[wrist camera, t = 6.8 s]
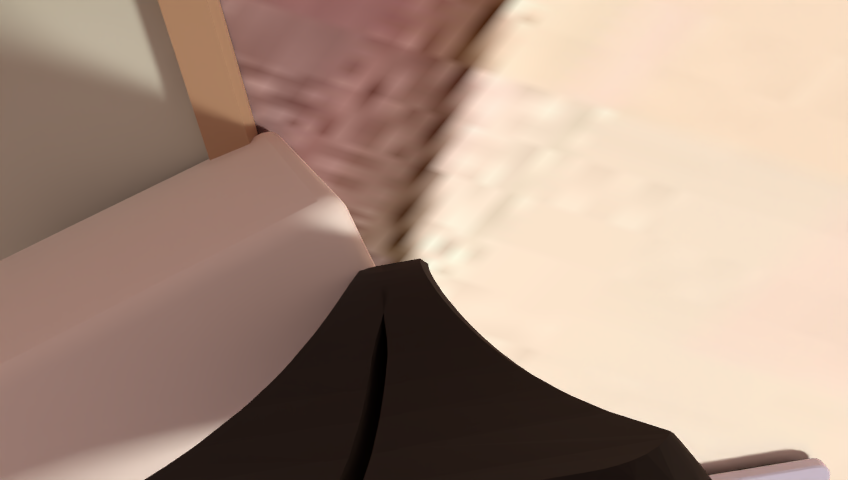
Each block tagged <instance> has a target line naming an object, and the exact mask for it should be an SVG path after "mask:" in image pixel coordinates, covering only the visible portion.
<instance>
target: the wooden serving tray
mask: <svg viewBox="0 0 848 480" xmlns="http://www.w3.org/2000/svg"><path fill="white" fill-rule="evenodd" d="M257 135H258V132H257V129H256V126H255V122H254V119H253V115H252V112H251V108H250V105H249V101H248V98H247V94H246V91H245V87H244V84H243V81H242V77H241V74H240V70H239V67H238V63H237V60H236V56H235V53H234V49H233V46H232V42H231V39H230V36H229V32H228V29H227V25H226V22H225V18H224V15H223V11H222V8H221V4H220V1H219V0H0V260H2V259H4V258H6V257H9V256H11V255H13V254H15V253H17V252H19V251H21V250H23V249H25V248H27V247H29V246H31V245H33V244H35V243H37V242H39V241H41V240H43V239H45V238H47V237H50V236H52V235H54V234H56V233H58V232H60V231H62V230H64V229H66V228H68V227H70V226H72V225H74V224H76V223H78V222H80V221H82V220H84V219H86V218H88V217H91V216H93V215H95V214H97V213H99V212H101V211H103V210H105V209H107V208H109V207H111V206H113V205H115V204H117V203H119V202H121V201H123V200H125V199H127V198H130V197H132V196H134V195H136V194H138V193H140V192H142V191H144V190H146V189H148V188H150V187H152V186H154V185H156V184H158V183H160V182H162V181H164V180H166V179H168V178H171V177H173V176H175V175H177V174H179V173H181V172H183V171H185V170H187V169H189V168H191V167H193V166H195V165H197V164H199V163H201V162H203V161H205V160H207V159H210V160H212V159H214V158H217V157H219V156H222V155H224V154H226V153H229V152H231V151H234V150H236V149H239V148H241V147H243V146H246V145H248V144H250V143H251V141H252V139H253V138H254V137H255V136H257Z"/></svg>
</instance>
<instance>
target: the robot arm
mask: <svg viewBox="0 0 848 480" xmlns="http://www.w3.org/2000/svg"><path fill="white" fill-rule="evenodd" d="M145 480H830V471H829V469H828V468H827V467H826V465H825V464H824V463H823V462H822V461H821V460H819V459H816V458H812V459H804V460H797V461H791V462H785V463H779V464H773V465H767V466H761V467H755V468H749V469H743V470H737V471H731V472H725V473H719V474H713V475H708V474H707V473H706V471H705V470H704V469H703V468H702V466H701V465H700V464H699V463H698V461H697V460H696V459H695V458H694V457H693V455H692V454H691V453H690V452H689V451H688V449H687V448H686V447H685V446H684V445H683V443H682V442H681V441H680V440H679V439H678V438H677V436H676V435H675V434H674V433H672V432H671V431H668V430H665V429H662V428H659V427H656V426H652V425H649V424H646V423H643V422H640V421H637V420H633V419H630V418H627V417H624V416H621V415H618V414H615V413H611V412H609V411H606V410H603V409H601V408H599V407H596V406H594V405H592V404H589V403H587V402H585V401H582V400H580V399H578V398H575V397H573V396H571V395H569V394H567V393H565V392H563V391H561V390H559V389H557V388H555V387H553V386H551V385H550V384H548V383H546V382H544V381H543V380H541V379H539V378H537V377H535V376H534V375H532V374H530V373H529V372H527V371H526V370H524V369H523V368H521V367H520V366H518V365H517V364H516V363H514V362H513V361H512V360H510V359H509V358H508V357H506V356H505V355H504V354H502V353H501V352H500V351H499V350H497V349H496V348H495V347H494V346H493V345H491V344H490V343H489V342H488V341H487V340H486V339H485V338H484V337H482V336H481V335H480V334H479V333H478V332H477V331H476V330H475V329H474V328H473V327H472V326H471V325H470V324H469V323H468V322H467V321H466V320H465V319H464V318H463V316H462V315H461V314H460V313H459V312H458V311H457V309H456V308H455V307H454V306H453V305H452V304H451V302H450V301H449V300H448V299H447V298H446V296H445V295H444V294H443V292H442V291H441V289H440V288H439V286H438V285H437V283H436V282H435V280H434V278H433V277H432V275H431V273H430V270H429V267H428V264H427V263H426V262H424V261H423V260H421V259H415V260H409V261H404V262H398V263H393V264H387V265H381V266H376V267H370V268H367V269H364V270H361V271H359V272H358V273H357V275H356V276H355V277H354V279H353V280H352V281H351V283H350V284H349V286H348V287H347V289H346V290H345V292H344V293H343V294H342V296H341V297H340V299H339V300H338V302H337V303H336V305H335V306H334V308H333V309H332V310H331V312H330V313H329V315H328V316H327V317H326V319H325V320H324V321H323V323H322V324H321V325H320V327H319V328H318V329H317V331H316V332H315V333H314V335H313V336H312V337H311V338H310V339H309V341H308V342H307V343H306V344H305V345H304V347H303V348H302V349H301V350H300V351H299V352H298V354H297V355H296V356H295V357H294V358H293V360H292V361H291V362H290V363H289V364H288V365H287V366H286V367H285V368H284V370H283V371H282V372H281V373H280V374H279V375H278V376H277V377H276V378H275V379H274V380H273V381H272V382H271V383H270V384H269V385H268V386H267V387H266V388H264V389H263V390H262V391H261V392H260V393H259V394H258V395H257V396H256V397H255V398H254V399H253V400H252V401H251V402H249V403H248V404H247V405H246V406H245V407H244V408H243V409H241V410H240V411H239V412H238V413H236V414H235V415H234V416H233V417H231V418H230V419H229V420H228V421H226V422H225V423H224V424H222V425H221V426H220V427H219V428H217V429H216V430H215V431H214V432H212V433H211V434H210V435H209V436H207V437H206V438H205V439H203V440H202V441H201V442H200V443H198V444H197V445H196V446H194V447H193V448H191V449H190V450H189V451H187V452H186V453H184V454H183V455H181V456H180V457H178V458H177V459H175V460H174V461H173V462H171V463H170V464H168V465H167V466H165V467H164V468H162V469H160V470H159V471H157V472H156V473H154V474H153V475H151V476H149V477H148V478H146V479H145Z"/></svg>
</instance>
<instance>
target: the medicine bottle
mask: <svg viewBox="0 0 848 480" xmlns="http://www.w3.org/2000/svg"><path fill="white" fill-rule="evenodd" d="M370 267H375V265H374V263H373V260H372V258H371V256H370V254H369V252H368V250H367V248H366V246H365V244H364V242H363V240H362V238H361V236H360V234H359V232H358V230H357V228H356V226H355V223H354V221H353V219H352V217H351V215H350V213H349V211H348V209H347V207H346V205H345V204H344V203H343V202H342V201H341V199H340V198H339V197H338V196H337V195H336V194H335V193H334V192H333V191H332V190H331V189H330V188H329V187H328V186H327V185H326V184H325V183H324V182H323V181H322V179H321V178H320V177H319V176H318V175H317V174H316V173H315V172H314V171H313V170H312V169H311V168H310V167H309V166H308V165H307V164H306V163H305V162H304V161H303V160H302V159H301V158H300V157H299V156H298V155H297V154H296V152H295V151H294V150H293V149H292V148H291V147H290V146H289V145H288V144H287V143H286V142H285V141H284V140H283V139H282V138H281V137H280V136H279V135H278V134H276V133H273V132H270V131H269V132H264V133H261V134H259V135H257V136H255V137H254V138H253V139H252V141H251V143H250V144H248V145H246V146H243V147H241V148H239V149H236V150H234V151H231V152H229V153H226V154H224V155H222V156H219V157H217V158H214V159H212V160H210V159H207V160H205V161H203V162H201V163H199V164H197V165H195V166H193V167H191V168H189V169H187V170H185V171H183V172H181V173H179V174H177V175H175V176H173V177H171V178H168V179H166V180H164V181H162V182H160V183H158V184H156V185H154V186H152V187H150V188H148V189H146V190H144V191H142V192H140V193H138V194H136V195H134V196H132V197H130V198H127V199H125V200H123V201H121V202H119V203H117V204H115V205H113V206H111V207H109V208H107V209H105V210H103V211H101V212H99V213H97V214H95V215H93V216H91V217H88V218H86V219H84V220H82V221H80V222H78V223H76V224H74V225H72V226H70V227H68V228H66V229H64V230H62V231H60V232H58V233H56V234H54V235H52V236H50V237H47V238H45V239H43V240H41V241H39V242H37V243H35V244H33V245H31V246H29V247H27V248H25V249H23V250H21V251H19V252H17V253H15V254H13V255H11V256H9V257H6V258H4V259H2V260H0V480H145V479H146V478H148V477H149V476H151V475H153V474H154V473H156V472H157V471H159V470H160V469H162V468H164V467H165V466H167V465H168V464H170V463H171V462H173V461H174V460H175V459H177V458H178V457H180V456H181V455H183V454H184V453H186V452H187V451H189V450H190V449H191V448H193V447H194V446H196V445H197V444H198V443H200V442H201V441H202V440H203V439H205V438H206V437H207V436H209V435H210V434H211V433H212V432H214V431H215V430H216V429H217V428H219V427H220V426H221V425H222V424H224V423H225V422H226V421H228V420H229V419H230V418H231V417H233V416H234V415H235V414H236V413H238V412H239V411H240V410H241V409H243V408H244V407H245V406H246V405H247V404H248V403H249V402H251V401H252V400H253V399H254V398H255V397H256V396H257V395H258V394H259V393H260V392H261V391H262V390H263V389H264V388H266V387H267V386H268V385H269V384H270V383H271V382H272V381H273V380H274V379H275V378H276V377H277V376H278V375H279V374H280V373H281V372H282V371H283V370H284V368H285V367H286V366H287V365H288V364H289V363H290V362H291V361H292V360H293V358H294V357H295V356H296V355H297V354H298V352H299V351H300V350H301V349H302V348H303V347H304V345H305V344H306V343H307V342H308V341H309V339H310V338H311V337H312V336H313V335H314V333H315V332H316V331H317V329H318V328H319V327H320V325H321V324H322V323H323V321H324V320H325V319H326V317H327V316H328V315H329V313H330V312H331V310H332V309H333V308H334V306H335V305H336V303H337V302H338V300H339V299H340V297H341V296H342V294H343V293H344V292H345V290H346V289H347V287H348V286H349V284H350V283H351V281H352V280H353V279H354V277H355V276H356V275H357V273H358V272H359V271H361V270H364V269H367V268H370Z"/></svg>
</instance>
